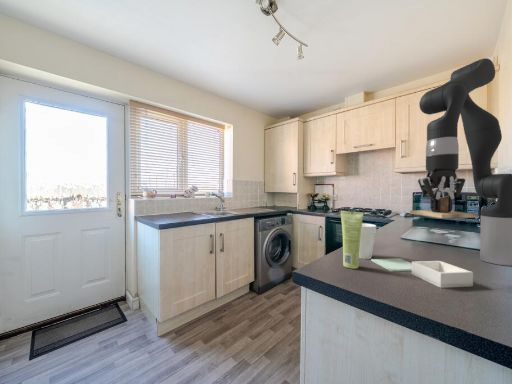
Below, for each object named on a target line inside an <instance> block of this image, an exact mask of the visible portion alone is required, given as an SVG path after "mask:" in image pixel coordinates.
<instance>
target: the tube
mask: <svg viewBox="0 0 512 384" xmlns="http://www.w3.org/2000/svg"><path fill="white" fill-rule="evenodd" d="M340 219H341V231H342V232H341V233H342V265H343V267H344V268H347V269H354V270H355V269H359V264H360V263H359V262H360V258H359V248H360V236H361V227H362V223H363V219H364V212H363V211H362V212H360V211H358V212H357V211H343V210H341V211H340Z"/></svg>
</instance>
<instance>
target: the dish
mask: <svg viewBox="0 0 512 384" xmlns="http://www.w3.org/2000/svg"><path fill="white" fill-rule="evenodd" d="M411 263H412V271H411V275H413V276H416V277H417V278H419V279H421V280H424V282H425V281H426V282H427V283H430V284H431V285H434V286H436V287H438V288H441V289H442V288H443V289H444V288H446V289H447V288H464V287H465V288H468V287H469V288H470V287H474V272H473V271H470V270H468V269H465V268H462V267H460V266H456V265H453V264H450V263H447V262H445V261H442V260H426V261H425V260H422V261H421V260H420V261H411Z"/></svg>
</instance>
